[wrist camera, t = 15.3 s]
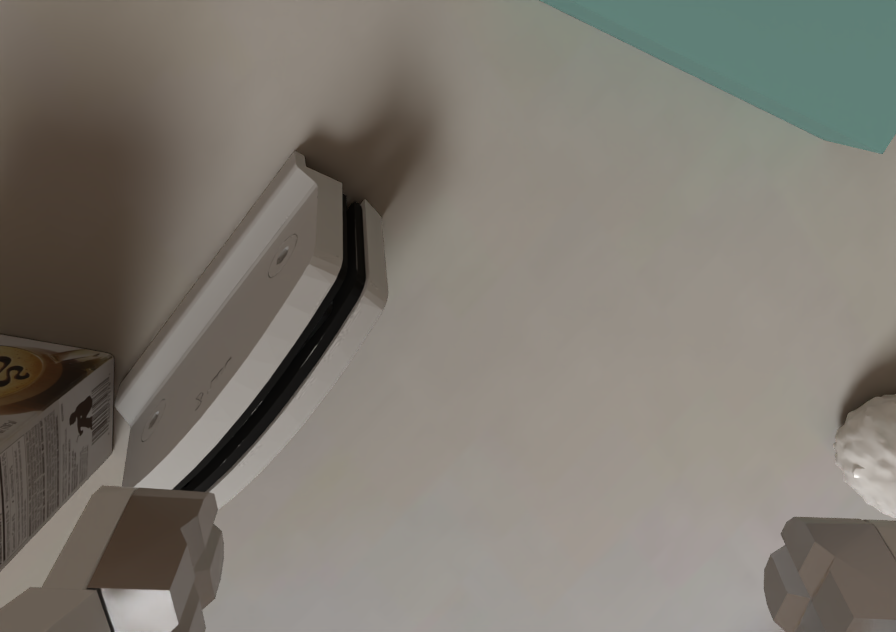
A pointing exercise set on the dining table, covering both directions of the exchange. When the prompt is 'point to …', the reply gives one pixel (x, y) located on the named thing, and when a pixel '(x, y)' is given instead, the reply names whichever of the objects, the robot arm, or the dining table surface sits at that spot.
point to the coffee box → (48, 431)
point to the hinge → (256, 339)
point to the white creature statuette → (870, 452)
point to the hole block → (774, 55)
